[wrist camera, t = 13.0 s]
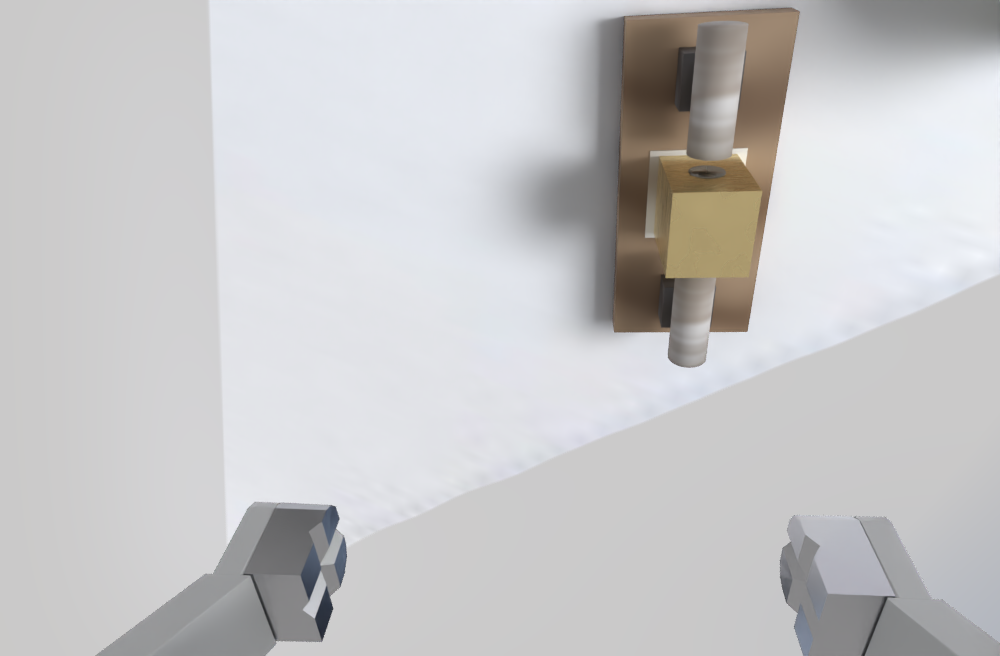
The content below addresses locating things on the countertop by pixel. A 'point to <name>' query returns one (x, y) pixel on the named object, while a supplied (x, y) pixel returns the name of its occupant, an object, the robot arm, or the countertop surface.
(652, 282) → the shaft mount
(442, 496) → the countertop surface
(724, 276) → the block
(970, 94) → the countertop surface
